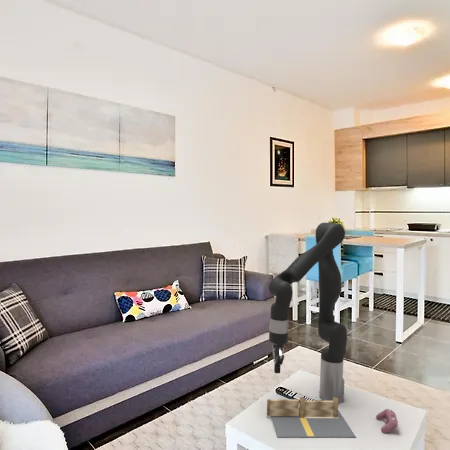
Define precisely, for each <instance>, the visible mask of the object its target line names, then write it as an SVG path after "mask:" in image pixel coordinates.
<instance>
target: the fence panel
mask: <svg viewBox="0 0 450 450" xmlns="http://www.w3.org/2000/svg"><path fill="white" fill-rule="evenodd" d="M266 402H267V403H266V417H271V416H299V405H300V399H294V398H293V399H290V398H289V399H277V398H275V399H269V398H268V399H267V401H266Z"/></svg>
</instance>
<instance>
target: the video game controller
mask: <svg viewBox="0 0 450 450" xmlns="http://www.w3.org/2000/svg"><path fill="white" fill-rule="evenodd" d="M375 418H376V420H378V421H383V420H384V424H385V425H383V426H381V428H380V431H381V432H382V433H383V434H387V433H388V434H389V433H391V432H392V431H394V430H396V429H397V428H398V426H399V425H398V424H399V421H398V418H397V414H396V413H395V411H393V410H392V409H389V408H387V409H384V410H383V411H380V412H379V413H377V415H376V416H375Z"/></svg>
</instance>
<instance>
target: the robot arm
mask: <svg viewBox="0 0 450 450" xmlns="http://www.w3.org/2000/svg"><path fill="white" fill-rule="evenodd" d="M345 237H346V231H345V227H344V226H343V225H341V224H339V223H336V222H321V223H320V224H318V225H317V227H316V229H315V242H316V244H315V245H313V246H312V247H311V248H310V249H308V250H306V251H305V252H303V253H301V254H300V255H298V256H297V257H296V258H295V259H294V261H292V263H290V265H288V267H287V268H286V269H284V270H282V272H279V274H278V275H276V276H274V278H272V280H271V281H270V283H269V285H268V291H269V293H270V294H271V295H272V296H274V297H275V302H274V303H272V304H271V307H270V318H269V319H270V320H269V326H268V327H269V331H268V333H269V334H268V340H269V342H270V343H272V344H271V345H272V346H271V347H272V358H273V363H274V365H273V368H274V369H273V370H274V374H280V373H281V365H283V364H284V359H285V355H284V352H285V348H284V347H283V345H284V344H285V345H286V344H287V343H288V341H289V327H290V325H289V309H290V306H291V302H292V298H293V294H294V293H293V292H294V291H293V287H292V284H293V283H294V284H295V283H299V282H300V281H302V279H303V278H304V277H305V276H306V275H307V273H308V272H310V270H311V269H312V268H313V267H314V266H315V265H316V264H318V291H319V294H318V295H319V297H318V299H319V301H318V303H319V305H318V321H317V333H318V337H320V339H322V340H323V341H324V342H327V343H328V347H327V348H324V349H322V350H321V352H320V368H319V369H320V372H319V373H320V375H319V395H318V396H319V399H320V401H333V398H334V397H337V398H338V404H341V403H344V400H345V399H344V398H345V397H344V396H345V379H344V376H343V375H344V358H345V355H346V351H347V343H348V342H347V341H348V331H347V327H346V326H345V325H344V324H342V323H340V322H337V321H335V318H334V308H335V305H336V303H337V302H338V300H339V298H340V296H341V294H342V274H341V271H340V269H339V266H338V263H337V261H336V259H335V255H334V249H335V248H337V247H338V246H339V245H340V244H341V243H342V242H343V241H344V239H345Z"/></svg>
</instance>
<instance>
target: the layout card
mask: <svg viewBox="0 0 450 450" xmlns="http://www.w3.org/2000/svg"><path fill="white" fill-rule="evenodd" d="M270 419H271V422H272V425H273V428H274V431H275V434H276V438H277V439H286V438H287V439H291V438H293V439H297V438H298V439H314V438H315V439H318V438H319V439H321V438H323V439H324V438H325V439H327V438H328V439H331V438H332V439H333V438H334V439H335V438H336V439H341V438H344V439H350V438H351V439H355V438H357V437H356V435H355V433H354V431H353V430H352V428H351V427H350V425H349V424H348V422H347V420H346V419H345V418H344V416H343V415H342V413H341V411H340V410H339V409H338V417H337V418H334V417H304V418H300V417H299V416H270Z"/></svg>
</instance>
